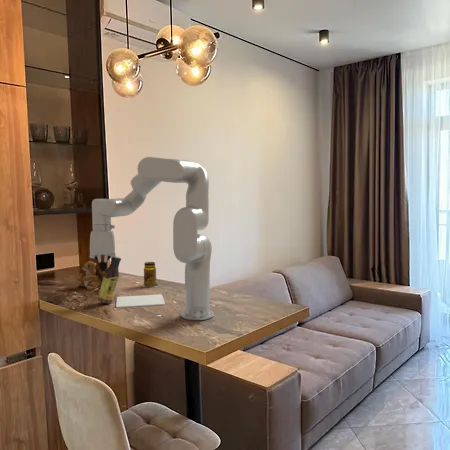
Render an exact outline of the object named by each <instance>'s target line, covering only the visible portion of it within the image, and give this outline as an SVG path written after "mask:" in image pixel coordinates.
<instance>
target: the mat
mask: <svg viewBox="0 0 450 450" xmlns="http://www.w3.org/2000/svg"><path fill="white" fill-rule="evenodd" d="M165 305H166V303H165V300H164V297H163V293H162V294H161V293H160V294H144V295H126V296H125V295H123V296H117V297H116V304H115V308H116V309H118V308H119V309H120V308H122V309H123V308H137V307H151V306H153V307H154V306H155V307H156V306H165Z"/></svg>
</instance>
